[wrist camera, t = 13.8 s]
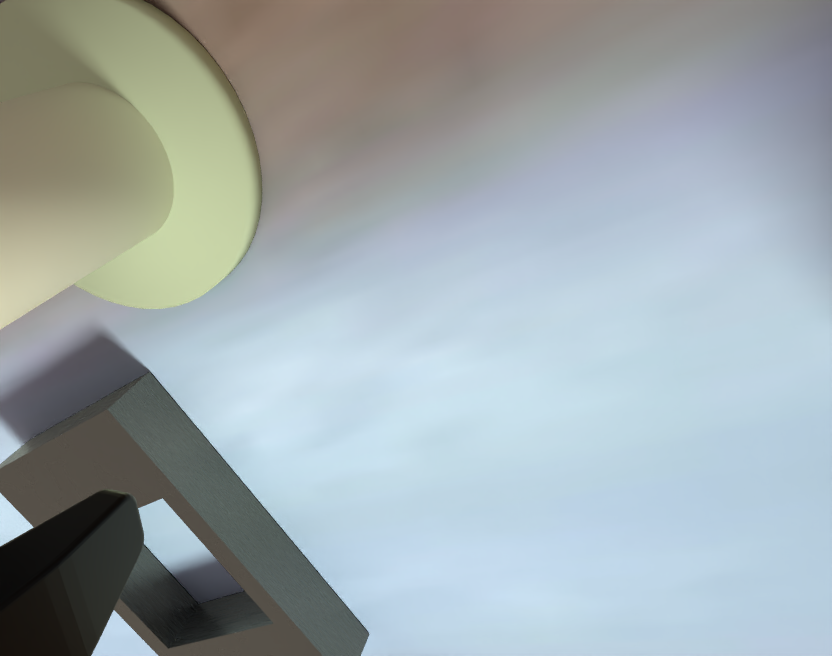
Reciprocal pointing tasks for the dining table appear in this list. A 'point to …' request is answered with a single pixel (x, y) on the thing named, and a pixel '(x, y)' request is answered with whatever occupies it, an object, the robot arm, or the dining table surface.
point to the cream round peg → (73, 189)
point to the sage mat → (172, 121)
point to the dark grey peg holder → (205, 516)
